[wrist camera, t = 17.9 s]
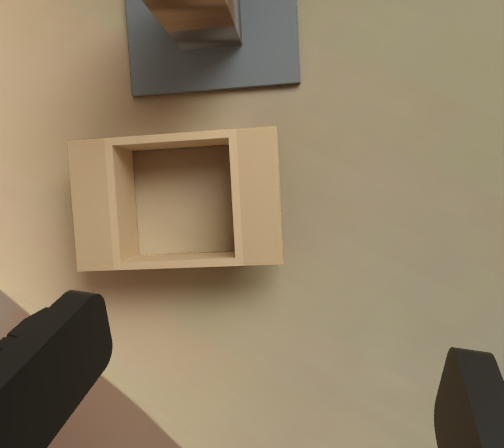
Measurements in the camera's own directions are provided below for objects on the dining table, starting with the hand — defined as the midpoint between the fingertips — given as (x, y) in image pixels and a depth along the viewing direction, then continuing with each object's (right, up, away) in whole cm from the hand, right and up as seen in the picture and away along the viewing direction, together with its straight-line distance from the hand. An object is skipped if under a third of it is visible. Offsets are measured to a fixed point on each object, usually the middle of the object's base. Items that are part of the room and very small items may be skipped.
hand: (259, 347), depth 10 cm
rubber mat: (-4, +20, +25) cm, 32 cm away
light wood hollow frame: (-6, +5, +26) cm, 27 cm away
